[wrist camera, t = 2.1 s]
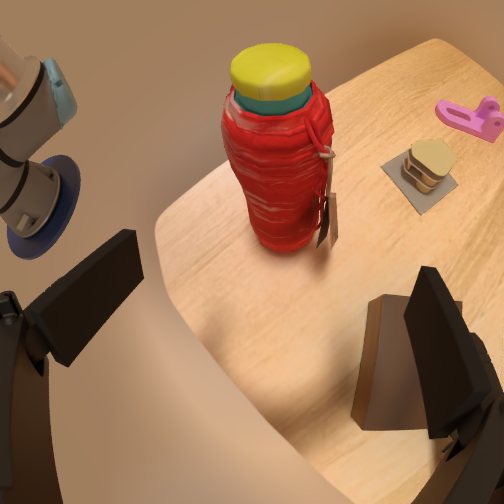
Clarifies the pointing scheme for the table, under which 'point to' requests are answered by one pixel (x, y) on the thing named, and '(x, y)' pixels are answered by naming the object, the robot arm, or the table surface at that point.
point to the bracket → (473, 118)
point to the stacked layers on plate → (424, 172)
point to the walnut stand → (389, 371)
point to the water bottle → (281, 146)
